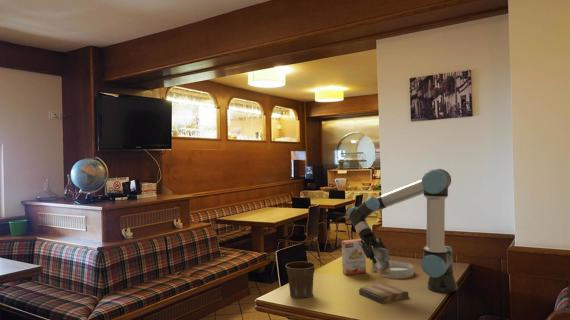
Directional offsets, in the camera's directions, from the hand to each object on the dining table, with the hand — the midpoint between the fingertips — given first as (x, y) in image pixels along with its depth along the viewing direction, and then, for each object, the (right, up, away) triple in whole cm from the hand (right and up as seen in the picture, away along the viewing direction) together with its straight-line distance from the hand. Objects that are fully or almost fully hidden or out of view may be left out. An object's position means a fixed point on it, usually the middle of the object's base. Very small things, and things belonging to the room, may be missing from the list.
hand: (385, 267), depth 206 cm
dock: (0, -15, +3) cm, 16 cm away
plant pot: (-43, -18, +10) cm, 47 cm away
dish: (+17, -16, +42) cm, 48 cm away
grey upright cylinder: (-1, -4, +3) cm, 5 cm away
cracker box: (-8, -17, +47) cm, 50 cm away
